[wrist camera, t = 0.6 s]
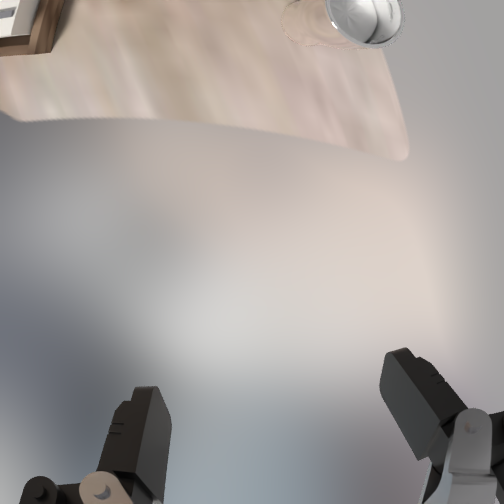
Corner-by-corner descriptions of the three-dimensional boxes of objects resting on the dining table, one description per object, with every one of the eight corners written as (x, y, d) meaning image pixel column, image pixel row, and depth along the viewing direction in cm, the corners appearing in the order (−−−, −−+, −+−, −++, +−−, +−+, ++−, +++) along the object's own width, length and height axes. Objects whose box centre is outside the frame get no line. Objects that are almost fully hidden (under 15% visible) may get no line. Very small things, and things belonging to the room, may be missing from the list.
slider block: (38, 34, 20) (8, 35, 15) (-1, 38, 18) (-32, 42, 13) (49, -4, 17) (21, -9, 12) (8, 2, 15) (-21, 1, 10)
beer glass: (345, 20, 26) (420, 12, 14) (314, 60, 29) (378, 69, 17) (297, -13, 23) (352, -48, 11) (265, 28, 26) (303, 10, 14)
